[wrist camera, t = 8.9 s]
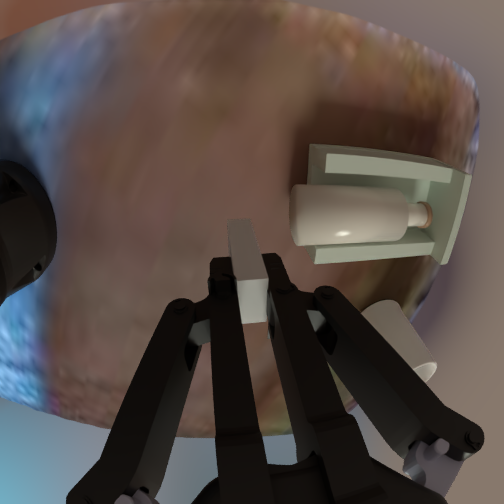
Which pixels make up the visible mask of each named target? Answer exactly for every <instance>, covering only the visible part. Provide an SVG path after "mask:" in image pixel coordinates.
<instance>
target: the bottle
mask: <svg viewBox="0 0 504 504" xmlns="http://www.w3.org/2000/svg"><path fill="white" fill-rule="evenodd" d="M432 218H433V213H432V208H431V206H430V205H429V204H428V203H427V202H423V201H419V202H417V203H407V201H406V199H405V197H404V195H403V194H402V192H401V191H400V190H398V189H397V188H390V187H373V186H350V185H305V184H296V185H294V186H293V188H292V191H291V195H290V202H289V221H290V229H291V234H292V238H293V240H294V242H295V244H296V245H297V246H304V245H324V244H344V243H364V242H385V241H397V240H399V239H401V238H402V237H403V235H404V234H405V232H406V229H407V226H417V227H418V228H427V227H429V226H430V224H431V222H432Z"/></svg>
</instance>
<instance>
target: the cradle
mask: <svg viewBox="0 0 504 504" xmlns="http://www.w3.org/2000/svg"><path fill="white" fill-rule="evenodd" d="M471 178H472V175H470V174H468V173H466V172H464V171H462V170H460V169H458V168H455V167H453V166H451V165H449V164H447V163H444V162H442V161H440V160H437V159H435V158H430V157H425V156H419V155H413V154H407V153H401V152H394V151H387V150H379V149H371V148H362V147H352V146H340V145H327V144H309V160H308V175H307V185H350V186H373V187H390V188H397V189H398V190H400V191H401V192H402V194H403V195H404V197H405V199H406V201H407V203H417V202H419V201H423V202H427V203H428V204H429V205H430V206H431V208H432V213H433V218H432V222H431V224H430V226H429V227H427V228H418V227H417V226H407V229H406V232H405V234H404V235H403V237H402V238H401V239H399V240H397V241H385V242H364V243H344V244H324V245H304V247H305V248H306V250H307V252H308V254H309V255H310V257H311V259H312V261H313V263H314V264H323V263H336V262H349V261H362V260H374V259H386V258H398V257H409V256H420V255H431V256H432V257H433V258H434V259H435V260H436V261H437V262H438V263H439V264H440V265H442V264H447V262H448V260H449V257H450V254H451V251H452V248H453V245H454V242H455V239H456V236H457V233H458V230H459V226H460V223H461V219H462V216H463V212H464V208H465V204H466V200H467V196H468V192H469V188H470V183H471Z"/></svg>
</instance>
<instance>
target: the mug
mask: <svg viewBox="0 0 504 504" xmlns="http://www.w3.org/2000/svg"><path fill="white" fill-rule="evenodd" d="M361 314H362V315H363V316H364V317H365V318H366V319H367V320H368V321H369V323H370V324H371V325H372V326H373V327H374V328H375V329H376V330H377V331H378V332H379V333H380V334H381V335H382V336H383V337H384V338H385V340H386V341H387V342H388V343H389V344H390V345H391V346H392V347H393V348H394V349H395V350H396V351H397V353H398V354H399V355H400V356H401V357H402V358H403V359H404V360H405V361H406V362H407V364H408V365H409V366H410V367H411V368H412V369H413V370H414V371H415V372H416V373H417V375H418V376H419V377H420V378H421V379H422V380H423V381H424V382H426V381H428V379H430V377H431V376H432V375H433V374H434V372H435V371H436V368H437V363H436V362H435V360H434V358H433V357H432V355H431V354H430V352H429V350H428V349H427V347H426V346H425V345H424V343H423V341H422V340H421V338H420V337H419V335H418V334H417V332H416V331H415V329H414V328H413V326H412V325H411V324H410V322H409V321H408V319H407V318H406V316H405V315H404V313H403V312H402V310H401V307H400V305H399V304H398V303H397V302H396V301H394V300H382V301H379V302H376V303H374V304H372V305H371V306H369V307H367V308H366V309H365V310H364V311H362V312H361Z"/></svg>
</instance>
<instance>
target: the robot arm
mask: <svg viewBox="0 0 504 504" xmlns="http://www.w3.org/2000/svg"><path fill="white" fill-rule="evenodd" d="M227 227H228V248H229V257H217V258H213V259H212V261H211V262H210V277H209V278H208V290H209V295H208V296H207V297H206V298H205V299H204V300H202V301H199V302H196V303H193V302H192V301H191V300H189V299H185V298H179V299H176V300H173V301H172V302H170V303H169V304H168V305H167V307H166V309H165V311H164V313H163V315H162V317H161V319H160V321H159V323H158V325H157V327H156V329H155V332H154V334H153V336H152V338H151V340H150V342H149V344H148V346H147V348H146V351H145V353H144V355H143V357H142V359H141V361H140V364H139V366H138V368H137V370H136V372H135V375H134V377H133V379H132V381H131V384H130V386H129V388H128V391H127V393H126V395H125V397H124V400H123V402H122V405H121V407H120V409H119V412H118V414H117V416H116V419H115V421H114V424H113V426H112V429H111V431H110V434H109V436H108V439H107V442H106V444H105V447H104V449H103V452H102V454H101V457H100V459H99V460H98V461H97V462H96V464H95V465H94V466H93V467H92V468H91V469H90V470H89V471H88V472H87V473H86V474H85V475H84V477H83V478H82V479H81V480H80V481H79V482H78V483H77V484H76V485H75V486H74V487H73V488H72V490H71V491H70V492H69V493H68V495H67V497H66V504H159V503H158V501H157V500H155V499H154V498H155V497H156V495H157V493H158V491H159V489H160V487H161V484H162V481H163V479H164V475H165V472H166V468H167V465H168V460H169V457H170V453H171V450H172V446H173V443H174V439H175V436H176V432H177V429H178V425H179V422H180V418H181V415H182V412H183V408H184V405H185V401H186V398H187V394H188V391H189V388H190V384H191V381H192V378H193V374H194V371H195V368H196V364H197V361H198V358H199V354H200V351H201V348H202V344H205V343H208V342H211V365H212V384H213V400H214V415H215V428H216V436H215V445H216V458H217V467H218V477H217V478H215V479H214V480H212V481H211V482H209V483H208V484H207V485H206V486H205V487H204V488H203V490H202V491H201V492H200V493H199V495H198V496H197V497H196V498H195V500H194V501H193V502H192V503H191V504H448V503H447V501H446V500H445V498H444V497H445V496H446V494H447V492H448V490H449V488H450V487H451V485H452V483H453V481H454V480H455V477H456V476H457V474H458V472H459V470H460V468H461V466H462V464H463V462H464V461H465V460H466V459H467V458H469V457H470V456H472V455H473V454H475V453H476V452H477V451H479V450H480V449H481V447H482V445H483V443H484V432H483V431H482V429H481V427H480V426H478V425H477V424H475V423H474V422H472V421H470V420H469V419H467V418H465V417H463V416H462V415H460V414H458V413H457V412H455V411H453V410H451V409H450V408H448V407H446V406H445V405H444V404H443V403H442V402H441V401H440V400H439V398H438V397H437V396H436V395H435V394H434V393H433V392H432V391H431V389H430V388H429V387H428V386H427V385H426V384H425V382H424V381H423V380H422V379H421V378H420V377H419V376H418V375H417V373H416V372H415V371H414V370H413V369H412V368H411V367H410V366H409V365H408V364H407V362H406V361H405V360H404V359H403V358H402V357H401V356H400V355H399V354H398V353H397V351H396V350H395V349H394V348H393V347H392V346H391V345H390V344H389V343H388V342H387V341H386V340H385V338H384V337H383V336H382V335H381V334H380V333H379V332H378V331H377V330H376V329H375V328H374V327H373V326H372V325H371V324H370V323H369V321H368V320H367V319H366V318H365V317H364V316H363V315H362V314H361V313H360V312H359V311H358V310H357V309H356V308H355V307H354V306H353V305H352V304H351V303H350V302H349V301H348V300H347V299H346V298H345V297H344V295H343V294H342V293H341V292H340V291H339V290H337V289H336V288H334V287H331V286H320V287H318V288H316V289H315V291H314V293H310V292H303V291H300V290H298V288H297V287H296V286H295V285H294V284H293V283H291V282H290V279H289V277H288V274H287V272H286V269H285V267H284V265H283V262H282V260H281V257H280V256H278V255H277V254H276V253H266V254H261V252H260V249H259V245H258V242H257V239H256V236H255V232H254V229H253V226H252V222H251V219H250V218H249V219H232V220H227ZM56 243H57V231H56V223H55V218H54V214H53V210H52V207H51V205H50V202H49V200H48V197H47V195H46V193H45V191H44V190H43V188H42V186H41V185H40V183H39V182H38V181H37V179H36V178H35V177H34V176H33V175H32V174H31V173H30V172H29V171H28V170H27V169H26V168H25V167H23V166H22V165H20V164H18V163H16V162H12V161H7V160H4V161H0V306H1V305H2V303H3V302H4V301H5V299H6V298H7V297H9V296H10V295H12V294H14V293H15V292H17V291H19V290H20V289H22V288H24V287H26V286H27V285H29V284H31V283H32V282H34V281H36V280H37V279H38V278H39V277H40V276H41V275H42V274H43V272H44V271H45V270H46V268H47V267H48V266H49V264H50V263H51V261H52V259H53V257H54V254H55V250H56ZM267 317H268V321H269V323H268V339H270V338H271V343H272V347H273V351H274V355H275V359H276V364H277V368H278V372H279V376H280V380H281V385H282V389H283V393H284V397H285V401H286V405H287V410H288V414H289V418H290V422H291V426H292V430H293V435H294V438H295V443H296V449H297V450H296V453H297V462H298V463H296V464H293V465H275V464H267V459H266V454H265V449H264V443H263V439H262V434H261V432H260V429H259V424H258V418H257V412H256V407H255V401H254V395H253V389H252V383H251V377H250V371H249V365H248V358H247V352H246V346H245V339H244V333H243V326H242V324H244V323H255V322H266V321H267ZM327 362H328V363H329V365H330V366H331V367H332V369H333V370H334V372H335V373H336V374H337V376H338V377H339V378H340V380H341V381H342V382H343V384H344V385H345V387H346V388H347V389H348V391H349V392H350V393H351V395H352V396H353V398H354V399H355V400H356V402H357V403H358V404H359V406H360V407H361V408H362V410H363V411H364V413H365V414H366V415H367V416H368V418H369V419H370V421H371V422H372V423H373V425H374V426H375V428H376V429H377V430H378V432H379V433H380V434H381V436H382V437H383V438H384V440H385V441H386V442H387V443H388V445H389V446H390V447H391V448H392V450H394V451H395V452H396V453H397V454H398V455H399V456H400V457H401V458H403V459H404V465H403V472H404V473H405V474H409V475H410V477H411V478H412V480H411V479H409V478H407V477H405V476H403V475H401V474H400V473H398V472H396V471H394V470H392V469H391V468H389V467H387V466H385V465H384V464H382V463H380V462H379V461H377V460H375V459H374V458H372V457H370V456H369V453H368V450H367V448H366V445H365V442H364V439H363V436H362V434H361V431H360V429H359V426H358V423H357V421H356V419H355V417H354V416H353V415H351V414H348V413H347V412H346V411H345V408H344V406H343V403H342V400H341V398H340V395H339V392H338V390H337V387H336V384H335V382H334V379H333V376H332V374H331V371H330V369H329V366H328V363H327Z"/></svg>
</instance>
